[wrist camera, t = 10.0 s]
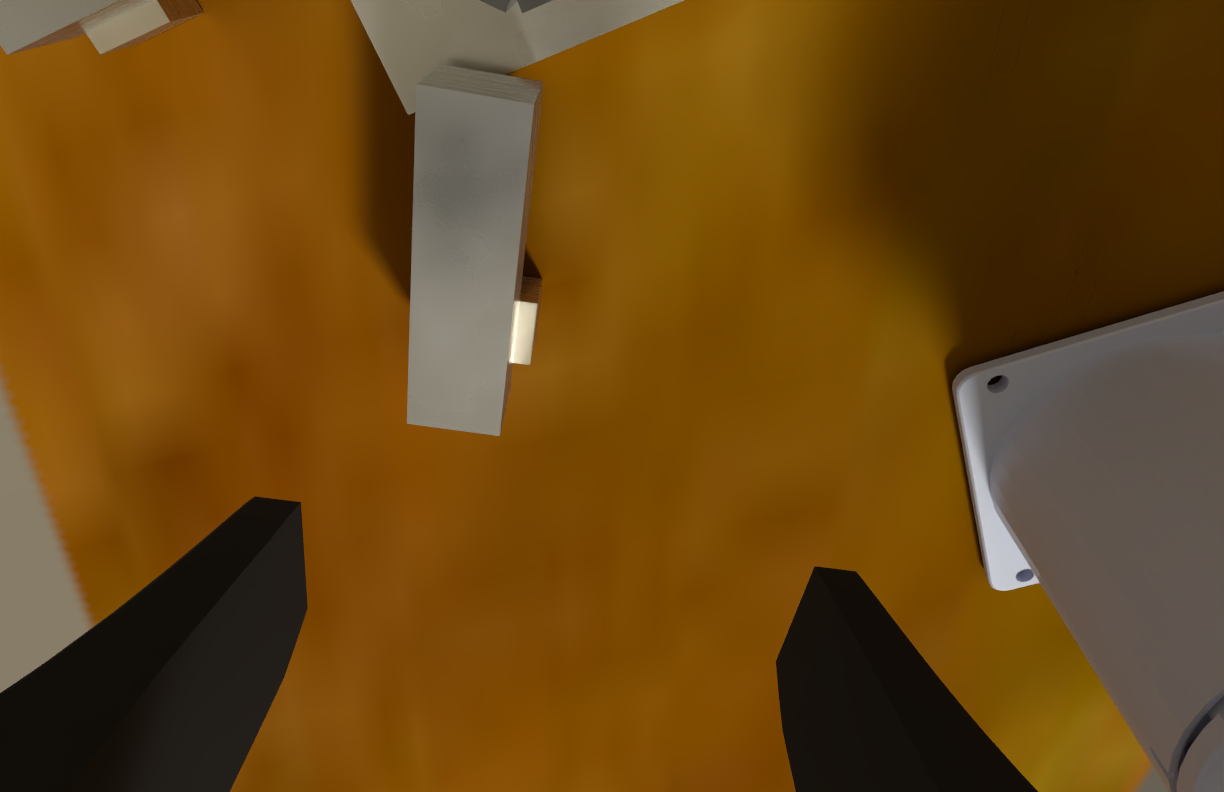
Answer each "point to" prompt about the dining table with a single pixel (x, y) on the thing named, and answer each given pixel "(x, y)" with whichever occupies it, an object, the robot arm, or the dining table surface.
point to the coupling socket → (428, 164)
